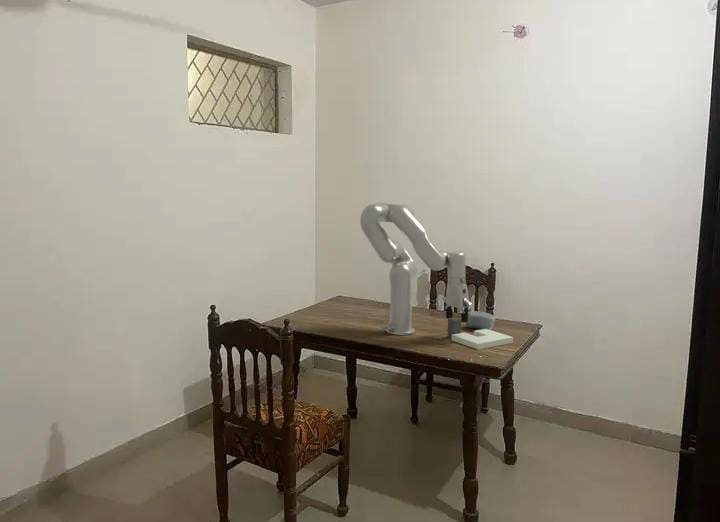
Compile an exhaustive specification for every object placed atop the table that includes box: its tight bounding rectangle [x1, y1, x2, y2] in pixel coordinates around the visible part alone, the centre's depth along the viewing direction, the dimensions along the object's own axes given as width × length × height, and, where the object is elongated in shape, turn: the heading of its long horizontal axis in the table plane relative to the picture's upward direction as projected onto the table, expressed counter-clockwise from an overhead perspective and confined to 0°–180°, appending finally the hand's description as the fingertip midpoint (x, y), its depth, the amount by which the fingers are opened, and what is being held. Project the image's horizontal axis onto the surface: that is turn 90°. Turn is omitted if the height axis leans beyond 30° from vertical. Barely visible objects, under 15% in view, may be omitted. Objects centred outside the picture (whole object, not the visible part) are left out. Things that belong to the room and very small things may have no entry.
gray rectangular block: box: [446, 317, 462, 339], centre depth 241 cm, size 4×4×8 cm
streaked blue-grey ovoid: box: [464, 310, 496, 330], centre depth 255 cm, size 14×10×10 cm
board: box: [451, 329, 514, 350], centre depth 235 cm, size 20×16×2 cm
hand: (456, 319), depth 240 cm, fingers open, 9 cm apart
